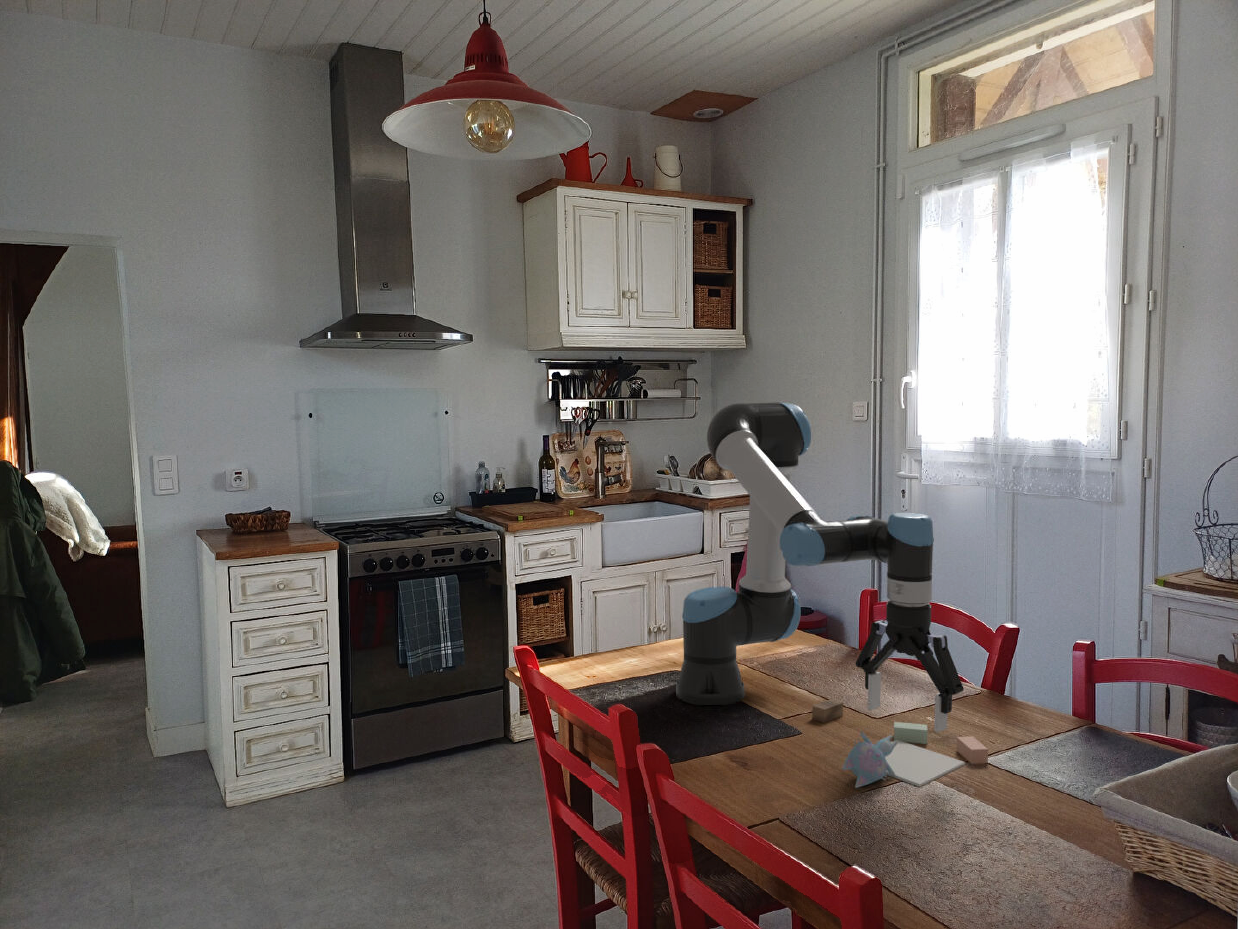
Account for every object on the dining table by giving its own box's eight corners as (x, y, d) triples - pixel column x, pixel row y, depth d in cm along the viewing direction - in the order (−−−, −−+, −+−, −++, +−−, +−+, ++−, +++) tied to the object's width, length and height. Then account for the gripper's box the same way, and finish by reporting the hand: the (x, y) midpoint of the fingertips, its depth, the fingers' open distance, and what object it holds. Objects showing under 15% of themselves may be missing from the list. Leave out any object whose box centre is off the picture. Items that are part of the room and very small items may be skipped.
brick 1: (824, 724, 181) (824, 709, 181) (812, 720, 183) (812, 705, 183) (842, 717, 185) (842, 703, 184) (830, 713, 187) (831, 699, 187)
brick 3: (956, 753, 165) (956, 737, 165) (972, 752, 165) (972, 736, 165) (971, 766, 159) (971, 749, 159) (987, 765, 159) (988, 749, 159)
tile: (850, 762, 161) (850, 759, 161) (896, 742, 170) (896, 739, 170) (919, 787, 150) (919, 784, 150) (965, 765, 159) (965, 762, 159)
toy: (908, 763, 158) (872, 799, 147) (872, 754, 162) (835, 788, 151) (907, 728, 157) (871, 761, 146) (872, 719, 161) (834, 751, 150)
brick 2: (893, 742, 171) (894, 727, 170) (894, 737, 173) (894, 721, 173) (927, 746, 169) (927, 730, 168) (926, 740, 172) (927, 724, 171)
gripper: (837, 592, 165) (836, 704, 167) (962, 619, 146) (959, 745, 148) (862, 586, 170) (860, 695, 172) (986, 611, 151) (983, 734, 153)
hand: (906, 719), depth 160 cm, fingers open, 13 cm apart
